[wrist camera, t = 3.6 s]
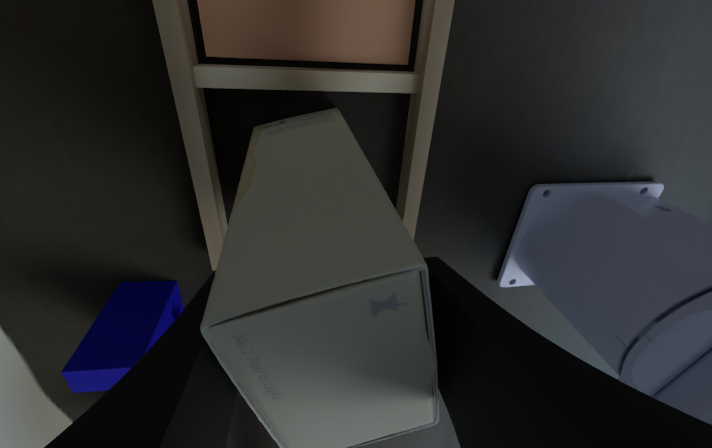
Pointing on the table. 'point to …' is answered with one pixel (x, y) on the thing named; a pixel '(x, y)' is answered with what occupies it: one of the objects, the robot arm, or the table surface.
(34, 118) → the table surface
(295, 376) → the skincare box
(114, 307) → the cable clip
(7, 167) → the table surface
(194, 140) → the pink framed panel
